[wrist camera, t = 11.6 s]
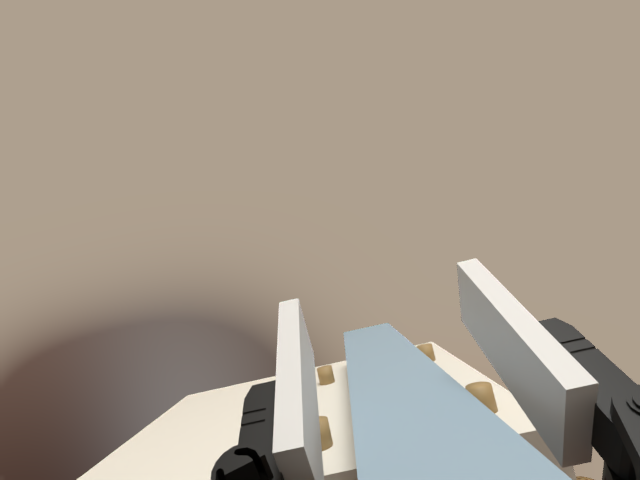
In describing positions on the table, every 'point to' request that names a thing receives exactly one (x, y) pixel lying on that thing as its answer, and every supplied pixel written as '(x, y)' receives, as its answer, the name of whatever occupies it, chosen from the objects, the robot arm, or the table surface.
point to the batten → (426, 419)
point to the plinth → (334, 417)
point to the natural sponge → (583, 478)
